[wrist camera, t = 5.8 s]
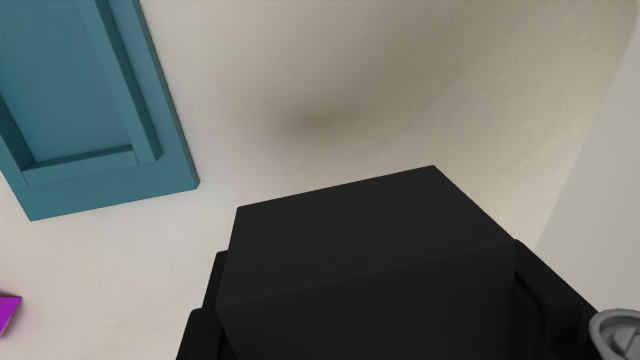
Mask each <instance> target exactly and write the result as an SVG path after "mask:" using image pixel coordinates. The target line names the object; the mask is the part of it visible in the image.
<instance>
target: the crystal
mask: <svg viewBox="0 0 640 360" xmlns="http://www.w3.org/2000/svg"><path fill="white" fill-rule="evenodd" d="M21 298H22V297H0V338H1V336H2V334H3V333H4V331H5V329H6V327H7V325H8V323H9V321H10V319H11V317H12V315H13V313H14V312H15V310H16V308H17V306H18V304H19V302H20V300H21Z"/></svg>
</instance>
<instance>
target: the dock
mask: <svg viewBox="0 0 640 360" xmlns="http://www.w3.org/2000/svg"><path fill="white" fill-rule="evenodd" d="M0 170H1V172H2V173H3V175H4V177H5V179H6V180H7V182H8V184H9V186H10V187H11V189H12V191H13V193H14V194H15V196H16V198H17V200H18V201H19V203H20V205H21V206H22V208H23V210H24V212H25V213H26V215H27V217H28V219H29V220H30V221H36V220H41V219H46V218H51V217H56V216H61V215H66V214H71V213H76V212H82V211H87V210H92V209H97V208H102V207H107V206H112V205H117V204H122V203H127V202H133V201H138V200H143V199H148V198H153V197H158V196H163V195H168V194H173V193H178V192H183V191H189V190H194V189H197V187H198V185H199V183H200V182H199V179H198V176H197V173H196V170H195V167H194V165H193V162H192V159H191V156H190V153H189V150H188V147H187V144H186V141H185V138H184V135H183V132H182V129H181V126H180V123H179V120H178V117H177V114H176V111H175V108H174V105H173V102H172V99H171V96H170V93H169V90H168V87H167V84H166V82H165V79H164V76H163V73H162V70H161V67H160V64H159V61H158V58H157V55H156V52H155V49H154V46H153V43H152V40H151V37H150V34H149V31H148V28H147V25H146V22H145V19H144V16H143V13H142V10H141V7H140V4H139V1H138V0H0Z"/></svg>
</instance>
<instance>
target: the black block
mask: <svg viewBox="0 0 640 360" xmlns="http://www.w3.org/2000/svg"><path fill="white" fill-rule="evenodd" d="M514 268H515V240H514V239H513V238H512V237H511V236H510V235H509V234H508V233H507V232H506V231H505V230H504V229H503V228H501V227H500V226H499V225H498V224H497V223H496V222H495V221H494V220H493V219H492V218H491V217H490V216H488V215H487V214H486V213H485V212H484V211H483V210H482V209H481V208H480V207H479V206H478V205H477V204H475V203H474V202H473V201H472V200H471V199H470V198H469V197H468V196H467V195H466V194H465V193H463V192H462V191H461V190H460V189H459V188H458V187H457V186H456V185H455V184H454V183H453V182H452V181H450V180H449V179H448V178H447V177H446V176H445V175H444V174H443V173H442V172H441V171H440V170H439V169H437V168H436V167H435V166H434V165H430V166H426V167H421V168H416V169H412V170H407V171H402V172H398V173H393V174H389V175H384V176H379V177H375V178H370V179H365V180H361V181H356V182H351V183H347V184H342V185H337V186H333V187H328V188H324V189H319V190H314V191H310V192H305V193H300V194H296V195H291V196H286V197H282V198H277V199H272V200H268V201H263V202H259V203H254V204H249V205H245V206H240V207H238V208H237V212H236V216H235V221H234V225H233V229H232V234H231V238H230V243H229V247H228V252H227V256H226V260H225V265H224V269H223V274H222V278H221V283H220V287H219V291H218V296H217V300H216V305H215V308H216V310H217V313H218V315H219V318H220V320H221V323H222V325H223V328H224V330H225V333H226V335H227V338H228V341H229V343H230V346H231V348H232V350H233V352H234V355H235V357H236V360H509V345H510V316H511V288H512V287H514Z"/></svg>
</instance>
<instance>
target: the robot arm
mask: <svg viewBox="0 0 640 360" xmlns="http://www.w3.org/2000/svg"><path fill="white" fill-rule="evenodd" d="M474 203H475V202H474ZM475 204H476V203H475ZM487 215H488V214H487ZM488 216H489V215H488ZM500 227H501V226H500ZM501 228H502V227H501ZM513 239H514V238H513ZM514 240H515V268H514V287H512V288H511V316H510V345H509V360H640V312H639V311H636V310H630V309H609V310H604V311H602V312H598V311H597V310H596V309H595V308H594V307H593V306H592V305H590V304H589V303H588V302H587V301H586V300H585V299H584V298H583V297H582V296H581V295H579V294H578V293H577V292H576V291H575V290H574V289H573V288H572V287H571V286H569V285H568V284H567V283H566V282H565V281H564V280H563V279H562V278H561V277H559V276H558V275H557V274H556V273H555V272H554V271H553V270H552V269H551V268H550V267H549V266H547V265H546V264H545V263H544V262H543V261H542V260H541V259H540V258H539V257H537V256H536V255H535V254H534V253H533V252H532V251H531V250H530V249H529V248H528V247H526V246H525V245H524V244H523V243H522V242H520V241H519V240H517V239H514ZM227 252H228V250H225V251H221V252H217V254H216V257H215V261H214V264H213V268H212V272H211V275H210V279H209V283H208V286H207V290H206V294H205V297H204V301H203V305H202V308H197V309H194V310H193V311H191V313H190V315H189V318H188V321H187V325H186V328H185V331H184V334H183V338H182V341H181V344H180V347H179V351H178V354H177V357H176V360H236V357H235V355H234V352H233V350H232V348H231V346H230V343H229V341H228V338H227V335H226V333H225V330H224V328H223V325H222V323H221V320H220V318H219V315H218V313H217V310H216V308H215V305H216V300H217V296H218V291H219V287H220V283H221V278H222V274H223V269H224V265H225V260H226V256H227Z"/></svg>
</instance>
